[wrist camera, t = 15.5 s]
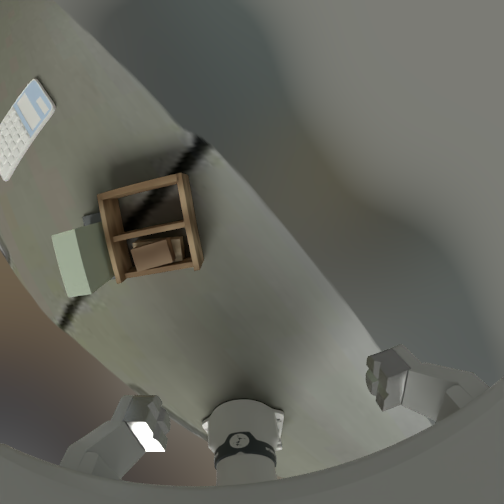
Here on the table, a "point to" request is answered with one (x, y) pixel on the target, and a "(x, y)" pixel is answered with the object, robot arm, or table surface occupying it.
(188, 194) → the rack
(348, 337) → the table surface
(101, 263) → the sage green thick block
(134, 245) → the offcut lower
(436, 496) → the robot arm
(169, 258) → the offcut upper
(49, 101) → the calculator
